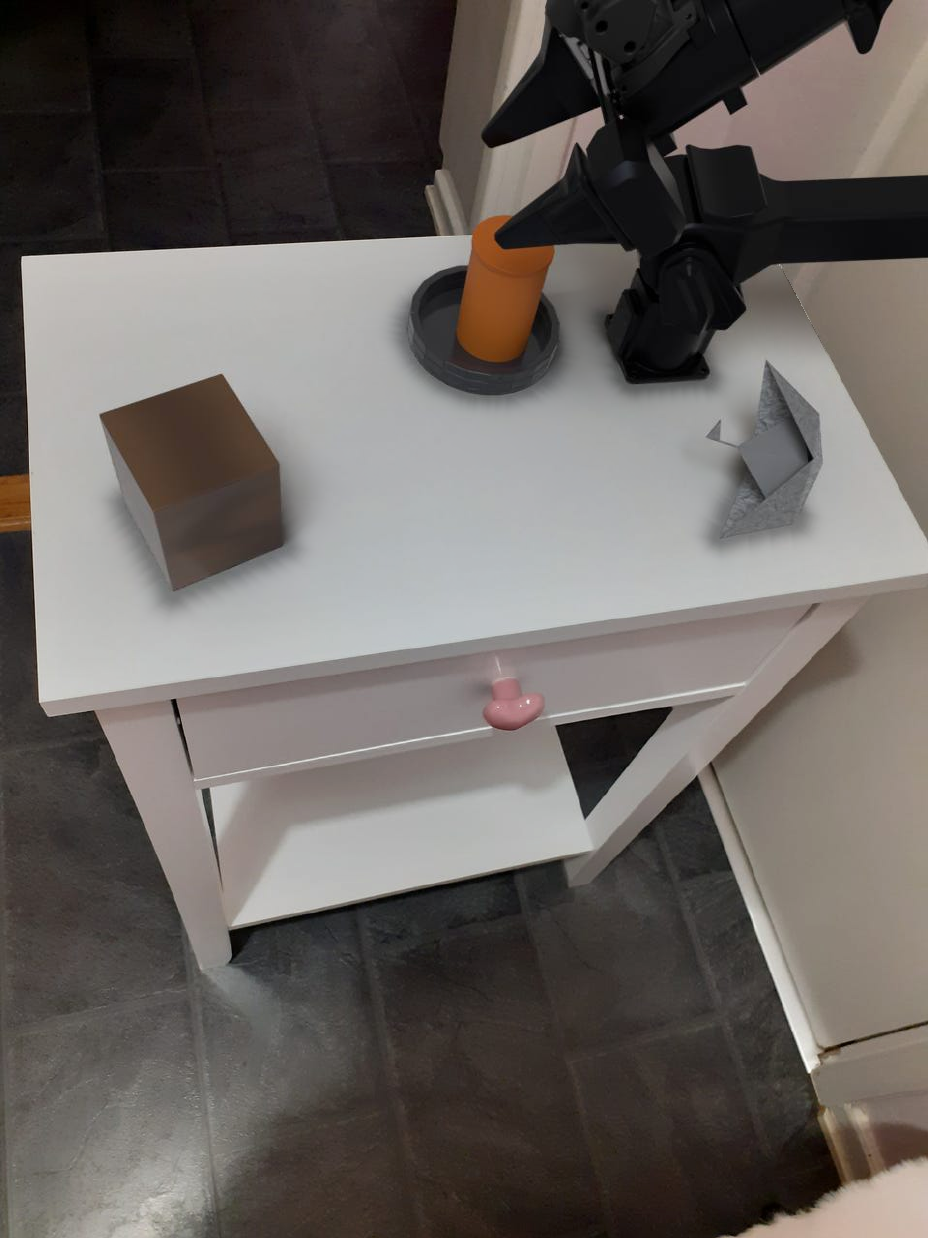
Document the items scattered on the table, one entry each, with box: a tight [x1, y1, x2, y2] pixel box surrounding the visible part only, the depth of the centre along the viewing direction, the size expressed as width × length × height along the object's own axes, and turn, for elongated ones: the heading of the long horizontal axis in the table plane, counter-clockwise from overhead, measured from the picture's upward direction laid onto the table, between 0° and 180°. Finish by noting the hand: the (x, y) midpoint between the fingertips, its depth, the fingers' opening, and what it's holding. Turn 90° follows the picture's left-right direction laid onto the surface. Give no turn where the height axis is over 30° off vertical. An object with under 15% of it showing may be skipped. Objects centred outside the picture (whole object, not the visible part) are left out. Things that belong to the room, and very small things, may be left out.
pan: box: [407, 264, 561, 396], centre depth 66 cm, size 11×11×2 cm
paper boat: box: [705, 359, 824, 539], centre depth 61 cm, size 12×6×9 cm
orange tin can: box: [456, 214, 555, 363], centre depth 63 cm, size 5×5×8 cm
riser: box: [98, 373, 284, 592], centre depth 52 cm, size 7×7×8 cm
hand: (490, 189), depth 56 cm, fingers open, 9 cm apart
